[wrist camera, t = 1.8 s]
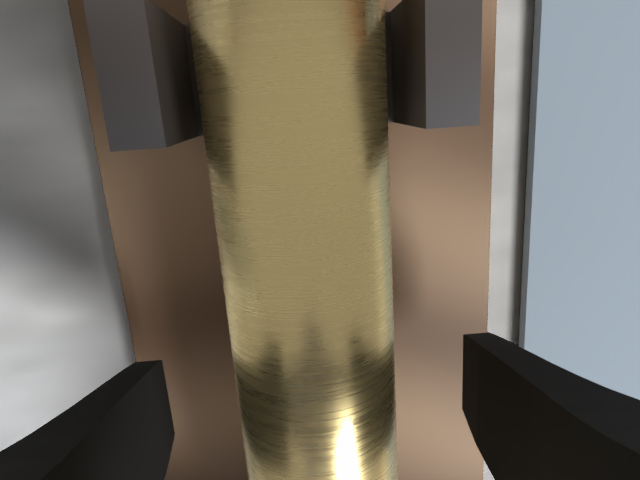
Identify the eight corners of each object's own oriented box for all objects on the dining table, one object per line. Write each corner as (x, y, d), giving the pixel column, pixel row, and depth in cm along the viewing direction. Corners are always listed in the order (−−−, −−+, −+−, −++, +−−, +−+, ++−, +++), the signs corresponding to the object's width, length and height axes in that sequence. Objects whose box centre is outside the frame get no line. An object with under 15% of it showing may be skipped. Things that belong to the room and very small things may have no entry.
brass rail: (395, 723, 14) (420, 881, 11) (291, 735, 14) (290, 897, 11) (361, -182, 8) (397, -334, 5) (182, -172, 8) (120, -322, 5)
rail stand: (467, 602, 18) (555, 858, 12) (200, 629, 18) (150, 906, 12) (481, -147, 12) (687, -420, 6) (64, -124, 12) (-204, -387, 5)
